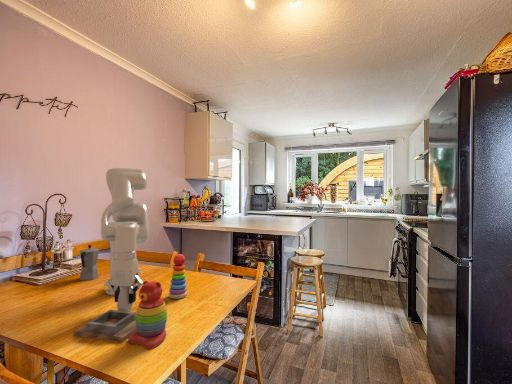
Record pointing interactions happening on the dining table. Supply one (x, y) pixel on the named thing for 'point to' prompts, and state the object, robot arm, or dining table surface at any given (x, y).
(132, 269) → the robot arm
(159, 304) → the stacking bear
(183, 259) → the stacking toy
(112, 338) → the stand
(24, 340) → the dining table surface
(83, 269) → the coffeepot
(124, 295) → the salt shaker
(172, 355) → the dining table surface
